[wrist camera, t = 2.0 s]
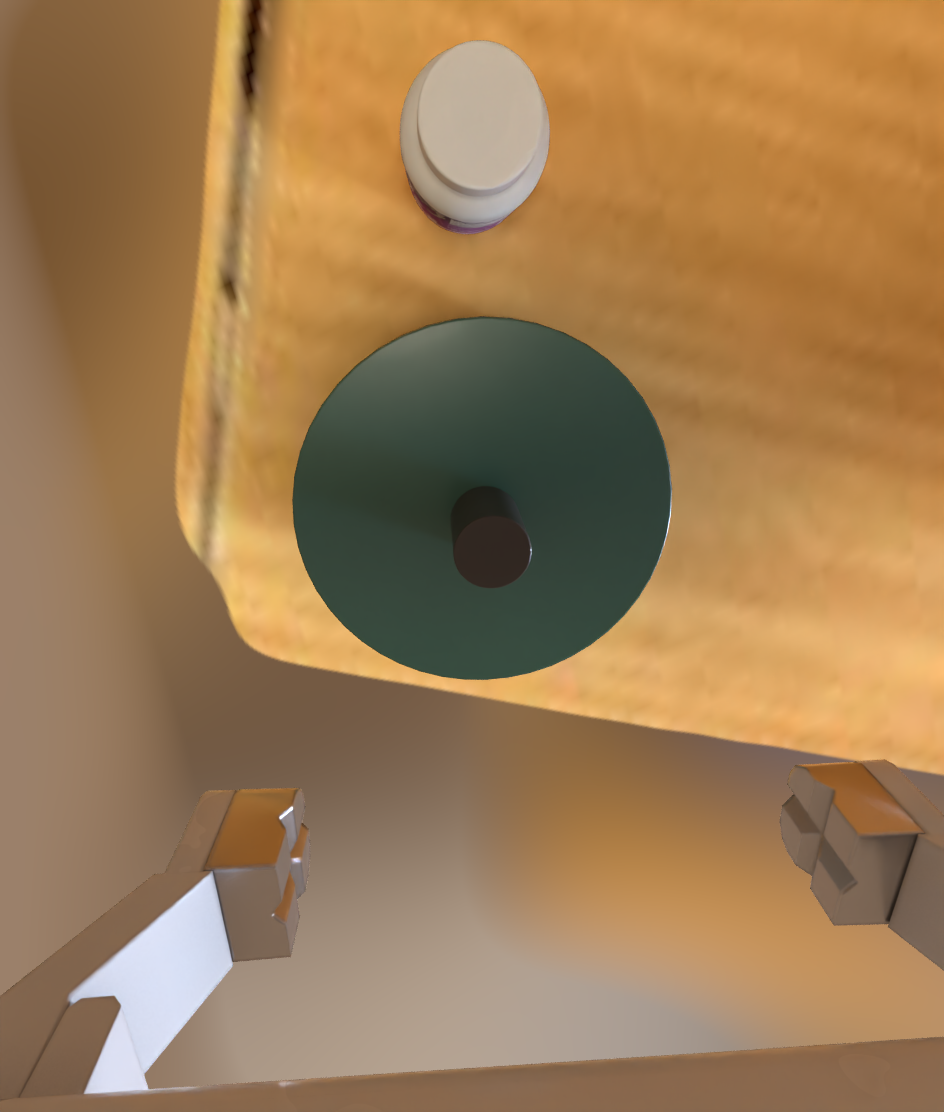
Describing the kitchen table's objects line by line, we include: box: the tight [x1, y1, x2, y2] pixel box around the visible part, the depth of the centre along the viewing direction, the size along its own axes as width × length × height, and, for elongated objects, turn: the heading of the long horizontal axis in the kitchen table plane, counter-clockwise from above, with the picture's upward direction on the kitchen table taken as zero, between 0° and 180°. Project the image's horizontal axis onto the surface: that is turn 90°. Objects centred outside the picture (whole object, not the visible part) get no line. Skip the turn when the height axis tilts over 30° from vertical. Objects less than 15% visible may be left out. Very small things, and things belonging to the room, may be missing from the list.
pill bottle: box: [400, 40, 550, 234], centre depth 24 cm, size 5×5×10 cm
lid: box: [292, 316, 672, 680], centre depth 23 cm, size 14×14×5 cm
